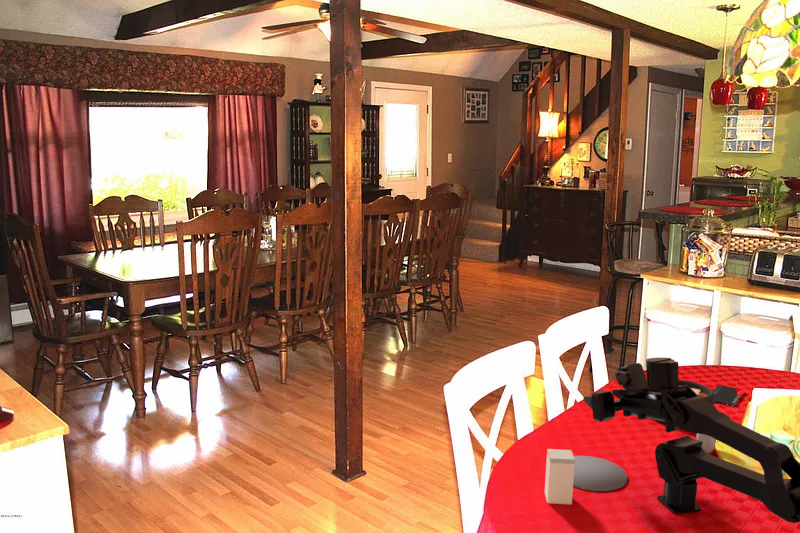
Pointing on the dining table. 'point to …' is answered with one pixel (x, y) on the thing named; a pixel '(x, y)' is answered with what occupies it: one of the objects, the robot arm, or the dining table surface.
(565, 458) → the card box
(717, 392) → the phone
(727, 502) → the dining table surface
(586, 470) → the mat
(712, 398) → the casserole
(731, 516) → the dining table surface
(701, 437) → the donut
